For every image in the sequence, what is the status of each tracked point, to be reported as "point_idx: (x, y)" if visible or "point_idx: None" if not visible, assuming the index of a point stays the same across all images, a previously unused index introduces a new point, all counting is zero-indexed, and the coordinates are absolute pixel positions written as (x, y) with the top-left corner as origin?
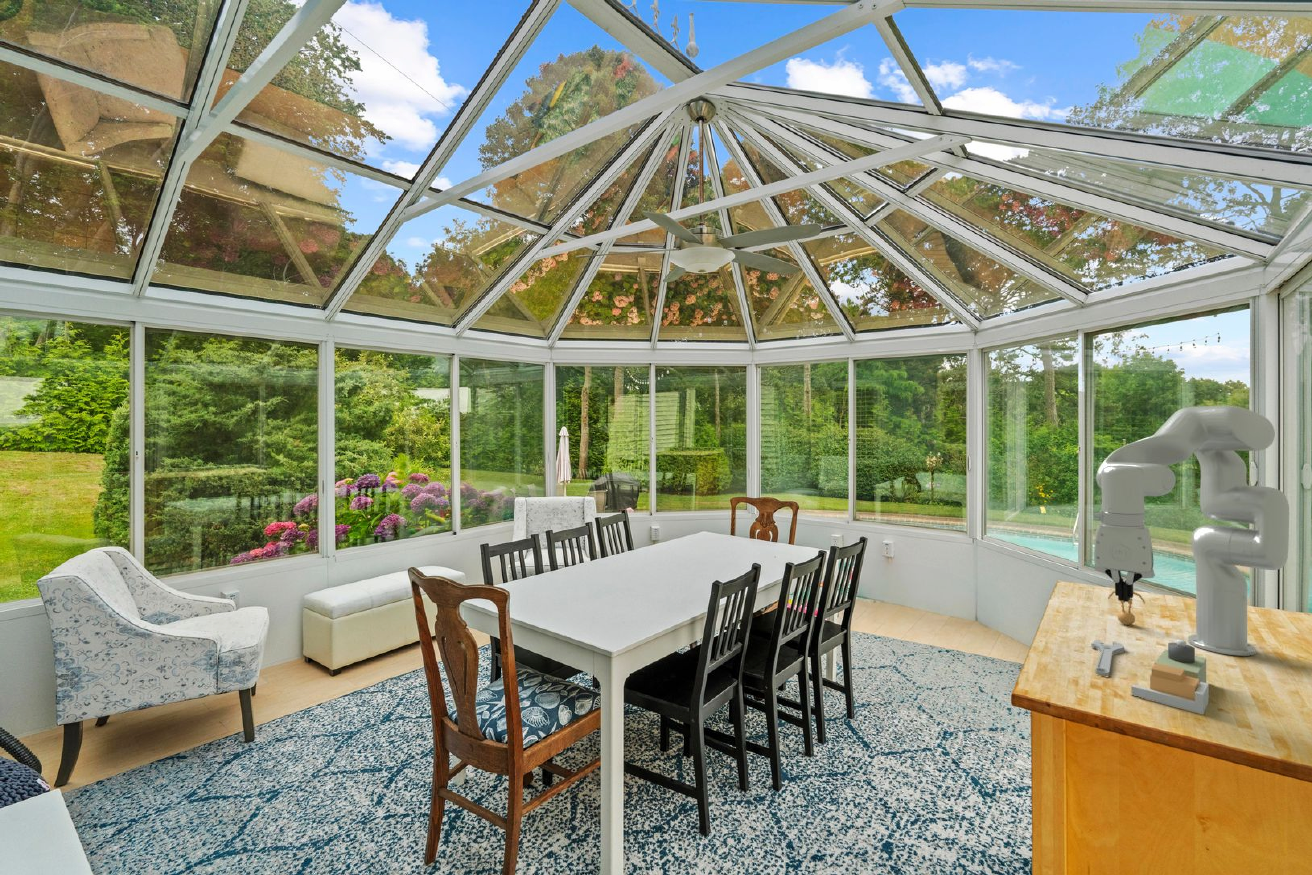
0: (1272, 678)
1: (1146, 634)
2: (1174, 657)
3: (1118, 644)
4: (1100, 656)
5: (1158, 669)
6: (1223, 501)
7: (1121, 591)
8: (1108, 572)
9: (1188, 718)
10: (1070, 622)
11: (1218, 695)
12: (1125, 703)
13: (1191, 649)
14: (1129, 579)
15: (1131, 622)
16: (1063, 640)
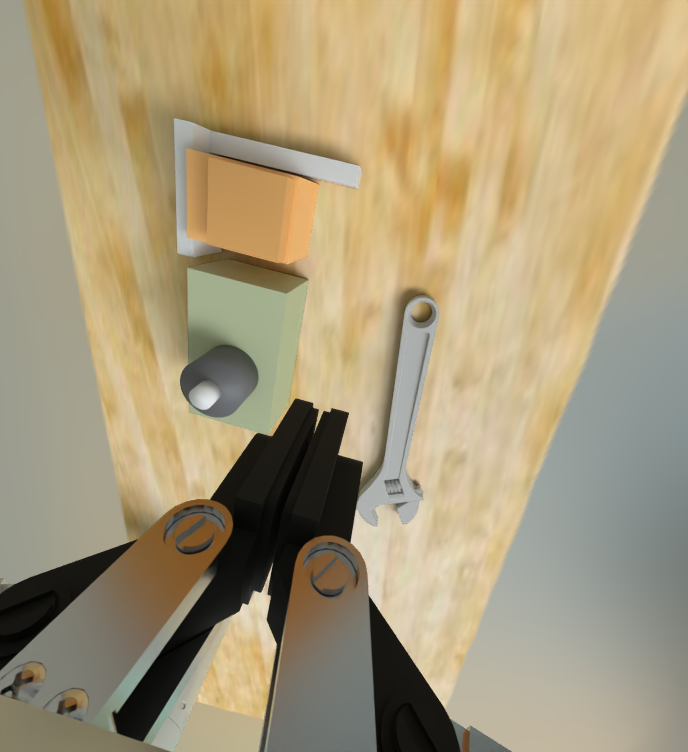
0: (144, 460)
1: None
2: (239, 355)
3: (367, 512)
4: (413, 420)
5: (268, 184)
6: None
7: (310, 452)
8: (412, 728)
9: (235, 63)
10: (445, 613)
11: None
12: (383, 68)
13: (185, 371)
14: (169, 561)
15: None
16: (479, 512)
